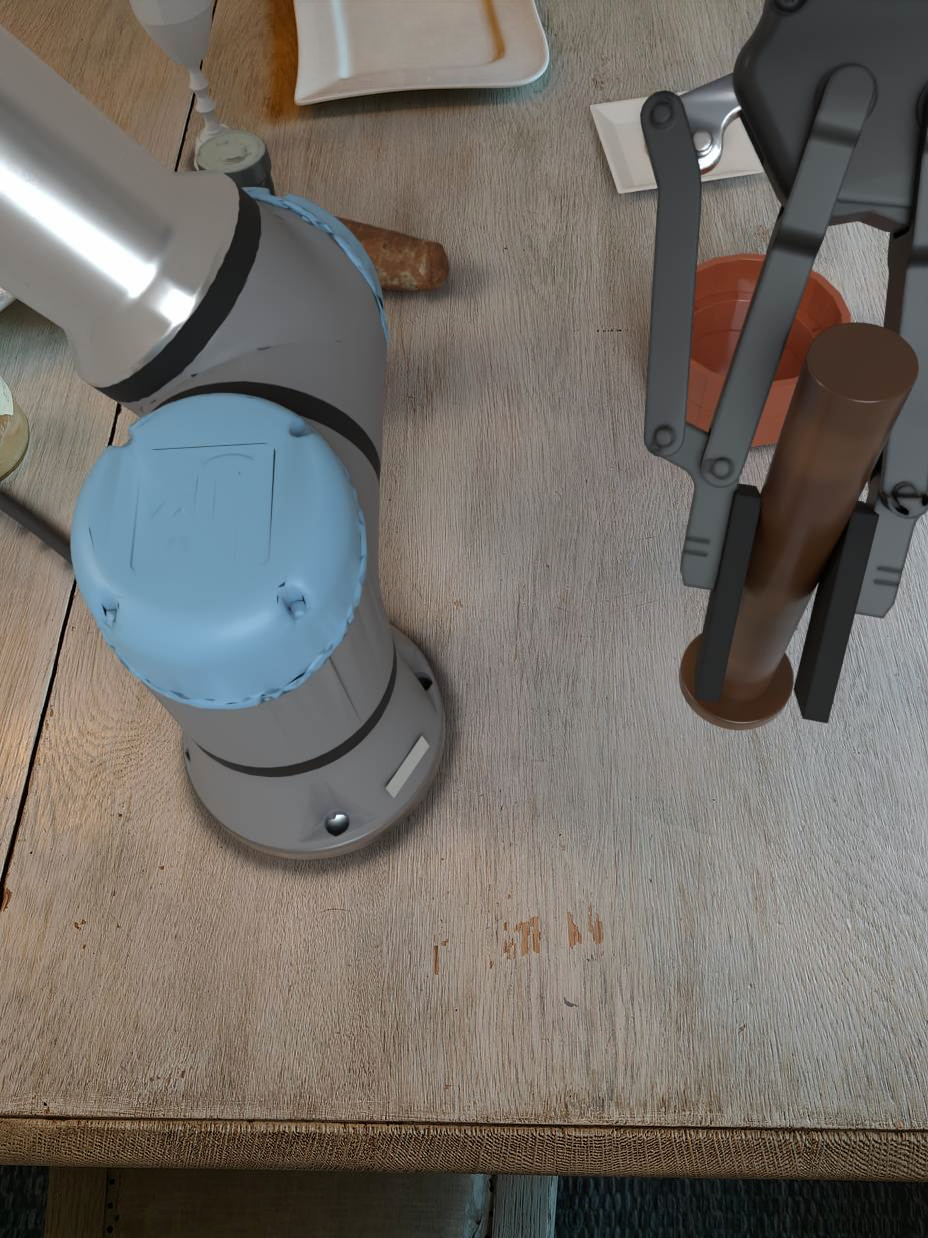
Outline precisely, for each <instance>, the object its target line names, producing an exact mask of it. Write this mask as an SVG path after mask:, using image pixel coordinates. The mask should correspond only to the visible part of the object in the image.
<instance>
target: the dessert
mask: <svg viewBox="0 0 928 1238" xmlns="http://www.w3.org/2000/svg"><path fill="white" fill-rule="evenodd" d="M691 90H692V89H691ZM691 90H683V91H677V90H674V93H675V94H676V95H677V96H679V95H681V94H684V93H686V92H688V91H691ZM648 97H649V96H643V97H635V98H628V99H623V100H615V101H608V102H601V103H594V104H590V105H589V109H590V112H591V115H592V119H593V121H594V124H595V127H596V130H597V133H598V136H599V140H600V142H601V145H602V148H603V150H604V154H605V157H606V160H607V162H608V163H607V164H608V167H609V169H610V172H611V175H612V178H613V181H614V184H615V188H616V191H617V193H618V194H620V195H622V194H628V193H635V192H643V191H650V190H655V189H658V188H657V184H656V181H655V177H654V174H653V170H652V167H651V163H650V160H649V156H648V153H647V149H646V146H645V142H644V137H643V132H642V128H641V121H640V113H641V109H642V105H643V104H644V102H645V101H646V100H647V98H648ZM762 173H765V171H764V169H763V167H762V164H761V162H760V160H759V158H758V156H757V154H756V151H755V149H754V147H753V145H752V143H751V141H750V139H749V136H748V134H747V132H746V130H745V128H744V126H743V124H742V121H741V119H740V117H739V118H737V119H736V120H734V121H733V122H732V123H731V124H730V125H729V126H728V127H727V129H726V130H725V132H724V135H723V152H722V156H721V159H720V161H719V163H718V165H717V166H716V167H715V168H714V169H713V170H712V171H710V172H708V173H706V174H704V175H701V183H703V182H711V181H717V180H723V179H724V180H725V179H730V178H736V177H738V178H739V177H744V176H751V175H758V174H762Z"/></svg>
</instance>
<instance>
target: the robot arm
mask: <svg viewBox="0 0 928 1238" xmlns="http://www.w3.org/2000/svg"><path fill="white" fill-rule="evenodd" d="M687 91H688V92H686V93H684V94H681V95H679V96H677V95H676V94H675V93H676V92H675V91H670V90H666V89H665V90H663V89H662V90H659V91H655V92H653V93H652V94H651V95H648V96H647V97H648V98H647V100H646V101H645V102H644V104H643V105H642V109H641V113H640V121H641V128H642V132H643V137H644V142H645V146H646V149H647V153H648V156H649V160H650V163H651V167H652V170H653V174H654V177H655V181H656V184H657V188H656V189H657V201H656V214H655V215H656V216H655V217H656V218H655V233H654V234H655V235H654V250H653V268H652V284H651V285H652V286H651V287H652V288H651V301H650V316H649V318H650V319H649V334H648V351H647V367H646V384H645V385H646V386H645V400H644V401H645V403H644V419H643V434H642V437H643V444H644V446H645V448H646V450H647V452H649V453H650V454H652V455H653V456H655V457H659V458H661V459H663V460H665V461H667V462H669V463H671V464H672V465H675V466H677V467H678V468H680V469H682V470H683V471H684V472H686V473H687V475H688V476H689V477H690V478H691V481H692V484H693V493H692V498H691V502H690V508H689V513H688V518H687V524H686V530H685V536H684V540H683V545H682V549H681V556H680V563H679V564H680V567H679V569H680V575H681V579H682V584H683V587H688V588H695V589H699V590H706V591H709V595H708V601H707V606H706V610H705V611H706V612H705V616H704V621H703V626H702V631H701V633H702V635H701V640H700V645H699V650H698V655H697V660H696V665H695V670H694V686H695V699H699V700H704V701H709V702H715V703H719V701H720V697H721V692H722V687H723V682H724V678H725V673H726V668H727V663H728V659H729V654H730V649H731V644H732V640H733V635H734V630H735V625H736V621H737V616H738V611H739V607H740V602H741V597H742V592H743V588H744V583H745V578H746V573H747V569H748V564H749V559H750V554H751V550H752V545H753V540H754V536H755V531H756V526H757V521H758V517H759V512H760V507H761V502H762V498H761V497H760V493H761V491H760V490H759V488H758V486H757V485H754V484H746V483H740V477H741V476H742V473H743V470H744V468H745V466H746V462H747V459H748V456H749V454H750V451H751V448H752V447H751V445H752V442H753V439H754V436H755V433H756V430H757V427H758V424H759V421H760V419H761V416H762V413H763V410H764V407H765V404H766V401H767V398H768V395H769V392H770V389H771V386H772V384H773V381H774V378H775V375H776V372H777V369H778V366H779V363H780V360H781V357H782V354H783V351H784V349H785V346H786V343H787V340H788V337H789V334H790V331H791V328H792V325H793V322H794V319H795V317H796V314H797V311H798V308H799V305H800V302H801V299H802V296H803V293H804V290H805V287H806V284H807V282H808V279H809V276H810V273H811V270H813V267H814V265H815V261H816V258H817V255H818V253H819V251H820V249H821V247H822V244H823V242H824V240H825V236H826V234H827V231H828V228H829V227H831V226H832V227H833V226H838V225H839V226H840V225H845V224H851V223H862V224H864V225H867V226H870V227H872V228H875V229H877V230H879V231H882V232H885V233H889V237H888V246H887V259H886V260H887V261H886V262H887V265H886V266H887V268H888V270H887V271H888V277H887V287H886V295H885V307H884V316H883V326H882V327H884V328H887V329H889V330H891V331H893V332H895V333H896V334H898V335H899V336H901V337H902V338H903V339H905V340H906V341H907V342H908V343H909V345H910V346H911V347H912V348H913V350H914V352H915V354H916V356H917V359H918V363H919V372H918V377H917V380H916V382H915V384H914V386H913V388H912V390H911V392H910V394H909V396H908V398H907V400H906V402H905V404H904V407H903V409H902V411H901V413H900V415H899V417H898V419H897V421H896V423H895V425H894V427H893V429H892V431H891V433H890V436H889V438H888V440H887V442H886V444H885V446H884V448H883V450H882V452H881V454H880V456H879V458H878V460H877V462H876V465H875V467H874V469H873V471H872V473H871V475H870V477H869V479H868V481H867V483H866V485H867V496H866V499H865V501H863V500H858V502H857V504H856V506H855V508H854V510H853V512H852V514H851V516H850V518H849V520H848V523H847V525H846V527H845V529H844V531H843V533H842V535H841V537H840V539H839V541H838V543H837V545H836V547H835V549H834V552H833V554H832V556H831V558H830V560H829V562H828V564H827V566H826V568H825V570H824V572H823V574H822V576H821V578H820V581H819V583H818V585H817V587H816V590H815V594H814V595H815V597H814V599H813V604H812V609H811V613H810V616H809V621H808V626H807V630H806V634H805V638H804V643H803V648H802V651H801V655H800V659H799V664H798V668H797V672H796V676H795V680H794V684H793V690H792V691H793V693H794V696H795V699H796V702H797V705H798V709H799V712H800V716H801V718H802V720H806V721H812V722H817V723H821V724H829V720H830V716H831V712H832V710H833V709H832V708H833V705H834V700H835V696H836V692H837V689H838V684H839V680H840V676H841V672H842V668H843V664H844V659H845V656H846V653H847V652H846V651H847V648H848V644H849V639H850V636H851V633H852V628H853V624H854V621H855V616H856V615H859V616H866V617H871V618H878V619H885V617H886V616H887V614H888V613H889V612H890V611H891V609H892V608H893V606H894V605H895V604H896V601H897V600H896V599H897V597H898V596H897V595H898V591H899V588H900V584H901V581H902V577H903V571H904V568H905V565H906V561H907V556H908V554H909V549H910V545H911V542H912V539H913V535H914V531H915V527H916V524H917V522H918V520H919V519H920V518H921V517H922V516H924V515H925V514H926V513H927V512H928V0H764V3H763V7H762V13H761V16H760V18H759V21H758V23H757V24H756V27H755V28H754V30H753V31H752V33H751V35H750V36H749V37H748V39H747V40H746V42H745V43H744V44H743V45H742V47H741V49H740V51H738V55H737V56H736V59H735V62H734V66H733V70H732V72H731V73H728V74H726V75H723V76H721V77H719V78H716V79H714V80H712V81H710V82H707V83H705V84H702V85H701V86H698V87H696V88H693V89H691V91H689V90H687ZM739 117H740V120H741V122H742V124H743V126H744V128H745V131H746V133H747V135H748V137H749V139H750V142H751V144H752V146H753V148H754V150H755V153H756V155H757V157H758V159H759V161H760V163H761V166H762V168H763V170H764V174H765V175H766V177H767V180H768V182H769V183H770V186H771V189H772V190H773V192H774V194H775V197H776V198H777V200H778V202H779V204H780V207H779V211H778V214H777V217H776V220H775V223H774V226H773V228H772V231H771V235H770V238H769V241H768V245H767V248H766V251H765V254H764V255H765V258H764V261H763V264H762V267H761V271H760V274H759V277H758V280H757V283H756V286H755V289H754V292H753V295H752V298H751V301H750V304H749V307H748V310H747V313H746V316H745V319H744V323H743V326H742V329H741V332H740V335H739V338H738V341H737V344H736V347H735V350H734V353H733V356H732V359H731V362H730V365H729V368H728V371H727V375H726V378H725V381H724V384H723V387H722V390H721V393H720V396H719V399H718V402H717V405H716V408H715V411H714V414H713V417H712V420H711V423H710V426H709V430H708V432H706V431H705V430H703V429H701V428H699V427H697V426H695V425H693V424H692V423H690V422H688V421H686V414H687V400H688V386H689V372H690V358H691V344H692V329H693V315H694V301H695V287H696V273H697V265H698V258H699V256H698V255H699V244H700V241H699V240H700V230H701V215H702V199H703V198H702V195H703V187H702V186H703V184H702V183H703V182H701V175H704V174H706V173H708V172H710V171H712V170H713V169H714V168H715V167H716V166H717V165H718V163H719V161H720V159H721V156H722V152H723V135H724V132H725V130H726V129H727V127H728V126H729V125H730V124H731V123H732V122H733V121H734V120H736V119H737V118H739ZM276 196H277V195H276ZM276 196H272V195H271V194H270V190H269V189H267V188H260V187H244V188H241V187H240V186H239V185H238V184H236V183H235V182H234V181H233V180H232V179H231V178H230V177H228V176H227V175H225V174H224V173H223V172H221V171H220V170H202V171H197V170H194V171H193V170H192V171H183V172H180V171H179V172H178V171H174V170H171V169H169V168H168V167H166V165H164V164H163V163H162V162H161V161H160V160H158V159H157V158H156V157H155V156H154V155H152V153H150V152H149V151H148V150H147V149H146V148H145V147H143V146H142V145H141V144H140V143H139V142H137V140H135V139H134V138H133V137H132V136H131V135H130V134H129V133H127V132H126V131H125V130H124V129H122V128H121V126H119V125H118V124H116V122H115V121H113V120H112V119H111V118H110V117H109V116H107V114H106V113H104V112H103V111H102V110H101V109H99V108H98V107H97V106H96V105H95V104H94V103H93V102H91V101H90V100H89V99H88V98H86V97H85V96H84V95H83V94H82V93H81V92H80V91H79V90H77V89H76V88H75V87H74V86H73V85H72V84H71V83H70V82H68V81H67V80H66V79H65V78H63V76H61V74H59V73H57V71H56V70H54V68H52V67H51V66H50V65H48V64H47V62H45V61H44V60H43V59H42V58H41V57H39V56H38V55H37V54H36V53H35V52H34V51H32V50H31V49H30V48H29V47H28V46H27V45H26V44H24V43H23V42H22V41H21V40H19V38H17V37H16V36H15V35H14V34H13V33H12V32H11V31H9V30H8V29H7V28H5V27H4V25H2V24H1V23H0V289H2V290H4V291H5V292H6V293H8V294H10V296H12V297H14V298H16V299H17V300H19V301H20V302H21V303H23V304H25V305H26V306H28V307H29V308H31V309H32V310H33V311H35V312H37V313H38V314H40V315H42V316H43V317H45V318H46V319H47V320H49V321H51V322H52V323H54V324H55V325H56V326H58V327H60V328H61V329H62V330H63V332H64V334H65V335H66V339H67V343H68V348H69V351H70V354H71V359H72V364H73V367H74V370H75V372H76V374H77V377H78V378H80V380H82V381H83V382H84V383H86V384H87V385H89V386H90V387H92V388H94V389H95V390H97V391H99V392H100V393H102V394H103V395H105V396H106V397H108V398H109V399H111V400H113V401H115V402H116V403H118V404H119V405H121V406H123V407H124V408H126V409H127V410H128V411H130V412H132V413H133V414H134V415H136V416H137V417H138V419H137V420H135V422H133V423H131V424H130V426H128V428H127V433H128V436H129V439H128V440H127V441H126V442H125V443H123V444H122V445H121V446H119V445H118V446H117V445H112V444H110V445H107V447H106V448H105V449H104V450H103V451H102V453H101V454H100V455H99V457H98V458H97V459H96V460H95V462H94V463H93V465H92V467H91V468H90V470H89V472H88V474H87V476H86V478H85V480H84V482H83V484H82V486H81V488H80V490H79V492H78V493H79V494H78V497H77V499H76V502H75V505H74V510H73V514H72V520H71V527H70V544H69V543H68V542H67V541H66V540H64V539H63V538H62V537H60V536H59V534H57V533H55V531H53V530H52V529H51V528H49V527H48V526H46V525H45V524H44V523H43V522H41V521H40V520H39V519H37V518H36V517H35V516H34V515H32V514H31V513H29V512H27V511H26V510H25V509H23V508H22V507H21V506H19V505H18V504H17V503H15V502H13V501H12V500H11V499H9V498H8V497H7V496H5V495H4V494H2V493H1V492H0V511H2V512H3V513H4V514H6V515H7V516H9V517H10V518H12V519H13V520H14V521H15V522H17V523H18V524H19V525H21V526H23V527H24V528H25V529H26V530H28V531H29V532H30V533H31V534H33V535H34V536H36V537H37V538H38V539H39V540H41V541H42V542H43V543H44V544H46V545H47V546H48V547H50V548H51V550H53V551H54V552H55V553H57V555H59V556H60V557H62V558H63V559H64V560H65V561H66V562H68V563H69V564H70V565H71V566H72V568H73V574H74V578H75V581H76V584H77V587H78V590H79V592H80V594H81V597H82V600H83V601H84V603H85V606H86V607H87V609H88V610H89V612H90V614H91V615H92V617H93V619H94V620H95V624H96V626H97V627H98V629H99V631H100V632H101V635H102V637H103V638H102V639H103V640H104V641H105V643H106V645H107V646H108V648H109V649H110V650H111V652H112V653H114V655H116V657H117V659H118V661H119V662H120V663H121V664H122V665H123V666H124V667H125V669H126V670H127V671H128V673H130V674H131V675H133V676H134V677H135V678H136V679H138V680H139V681H140V683H142V684H143V685H144V687H146V688H147V690H148V691H149V692H150V693H151V694H152V695H153V697H154V698H155V699H156V700H157V701H158V702H159V703H160V704H161V706H162V707H163V708H164V709H165V710H166V712H167V713H168V714H169V715H170V716H171V717H172V718H173V719H174V721H175V722H176V723H177V724H178V725H179V726H180V727H181V728H182V753H183V762H184V766H185V771H186V774H187V777H188V780H189V782H190V786H191V787H192V788H193V791H194V793H195V796H196V797H197V798H198V800H199V801H200V803H201V804H202V806H203V807H204V808H205V809H206V811H207V812H208V813H209V815H211V817H212V818H213V819H214V820H215V821H216V822H217V823H218V824H219V825H220V826H221V827H222V828H223V829H224V830H225V831H226V832H227V833H229V834H230V835H231V836H233V838H235V839H236V840H238V841H239V842H241V843H243V844H245V846H248V847H250V848H252V849H254V850H256V851H258V852H260V853H264V854H266V855H270V856H273V857H277V858H282V859H287V860H288V859H289V860H296V861H301V860H302V861H313V860H315V861H316V860H325V859H330V858H331V859H332V858H337V857H341V856H343V855H347V854H351V853H354V852H356V851H359V850H361V849H363V848H366V847H367V846H370V845H371V844H374V843H375V842H377V841H379V840H380V839H382V838H384V837H385V836H387V835H388V834H389V833H392V831H394V830H395V829H397V827H398V826H400V825H401V824H402V823H403V822H404V821H405V820H406V819H407V818H408V817H409V816H410V815H411V814H412V813H413V812H414V811H415V810H416V809H417V808H418V806H419V805H420V803H421V802H422V801H423V799H424V798H425V796H426V795H427V793H428V792H429V789H430V788H431V786H432V784H433V782H434V780H435V778H436V776H437V774H438V770H439V768H440V765H441V763H442V758H443V755H444V750H445V744H446V734H447V733H446V732H447V731H446V730H447V728H446V727H447V726H446V725H447V724H446V714H445V707H444V702H443V698H442V697H443V696H442V692H441V689H440V685H439V682H438V679H437V677H436V674H435V672H434V669H433V668H432V666H431V664H430V662H429V660H428V659H427V658H426V655H424V653H423V651H422V650H421V649H420V648H419V647H418V645H417V644H415V642H414V641H413V640H412V639H410V637H409V636H407V634H405V633H404V632H402V631H401V630H400V629H399V628H397V627H396V626H394V625H393V623H390V621H389V618H388V614H387V610H386V607H385V604H384V600H383V596H382V592H381V585H380V577H379V576H380V575H379V574H380V573H379V539H380V538H379V537H380V536H379V534H380V500H381V499H380V498H381V487H380V485H381V484H380V483H381V471H382V457H383V456H382V455H383V435H384V417H385V416H384V414H385V394H386V377H387V375H386V374H387V363H388V358H389V353H388V350H389V349H388V348H389V328H388V323H387V318H386V313H385V312H386V311H385V305H384V296H383V289H381V285H380V281H379V278H378V275H377V273H376V270H375V268H374V265H373V263H372V261H371V259H370V257H369V256H368V254H367V252H366V251H365V249H364V247H363V246H362V245H361V243H360V242H359V241H358V239H357V238H356V237H355V236H354V234H353V233H352V232H351V231H350V230H349V229H348V228H347V227H346V226H345V225H344V224H343V223H342V222H341V221H339V220H338V219H337V218H336V217H335V216H336V215H333V214H332V213H330V212H329V211H328V210H326V209H325V208H324V207H322V206H320V205H318V204H317V203H316V202H314V201H311V200H309V199H307V198H305V197H303V196H300V195H298V194H295V193H293V192H292V193H291V192H289V193H287V194H286V196H277V197H276Z"/></svg>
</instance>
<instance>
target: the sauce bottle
mask: <svg viewBox="0 0 928 1238" xmlns="http://www.w3.org/2000/svg"><path fill="white" fill-rule="evenodd" d="M196 163H197V166H198V169H199V171H202V170H220V171H221V172H223V173H224V174H225V175H227V176H228V177H230V178H231V179H232V180H233V181H234V182H235V183H236V184H238V185H239V186H240V187H241V188H244V187H260V188H267V189H269V190H270V194H271V195H272V196H276V197H278V196H277V193H276V190H275V184H274V181H273V178H272V167H273V165H272V160H271V157H270V154H269V150H268V147H267V144H266V142H265V140H264V139H263V138H262V137H260V136H259V135H257V134H255V133H254V132H251V131H247V130H244V129H243V130H237V129H236V130H234V131H228V132H223V133H220V134H218V135H215V136H213V137H211V138H209V139H207V140H206V141H205V142H204V143H203V144H202V145H201V146H200V147H199V149H198V152H197V154H196Z"/></svg>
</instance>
